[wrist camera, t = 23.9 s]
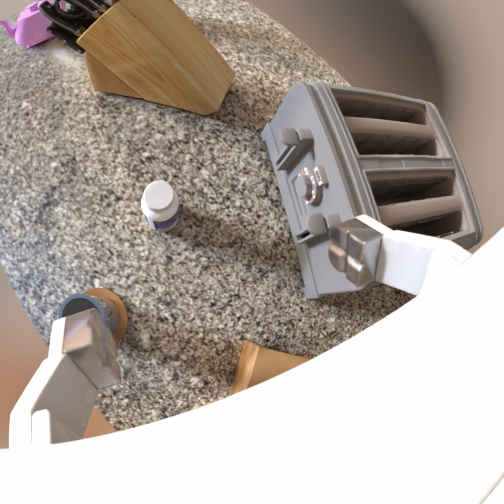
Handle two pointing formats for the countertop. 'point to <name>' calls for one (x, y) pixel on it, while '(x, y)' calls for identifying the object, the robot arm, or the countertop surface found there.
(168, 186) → the pill bottle
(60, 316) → the cup
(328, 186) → the toaster
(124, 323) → the coaster
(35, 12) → the teapot
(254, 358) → the wood block
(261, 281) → the countertop surface
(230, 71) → the knife block
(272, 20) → the countertop surface
